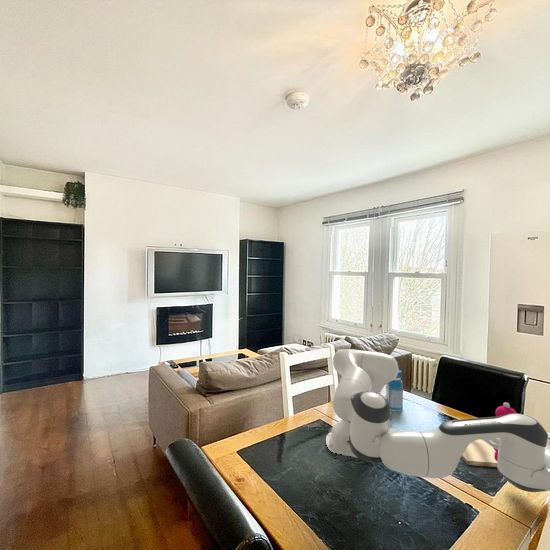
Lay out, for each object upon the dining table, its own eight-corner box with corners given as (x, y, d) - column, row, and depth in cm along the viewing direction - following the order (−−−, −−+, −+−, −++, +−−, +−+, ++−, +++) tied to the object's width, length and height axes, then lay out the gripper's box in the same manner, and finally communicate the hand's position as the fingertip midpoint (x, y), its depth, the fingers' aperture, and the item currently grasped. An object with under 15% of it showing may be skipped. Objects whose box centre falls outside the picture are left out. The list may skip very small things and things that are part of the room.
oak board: (467, 464, 112) (467, 460, 112) (448, 440, 128) (448, 437, 128) (514, 468, 110) (514, 464, 110) (489, 443, 125) (489, 439, 125)
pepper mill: (524, 469, 97) (525, 408, 97) (499, 466, 99) (500, 406, 99) (511, 456, 104) (512, 398, 104) (488, 453, 106) (489, 397, 106)
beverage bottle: (395, 413, 152) (395, 374, 151) (382, 407, 159) (382, 369, 159) (406, 410, 156) (406, 371, 155) (393, 403, 163) (393, 366, 163)
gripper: (495, 458, 90) (471, 433, 104) (572, 464, 87) (537, 438, 101) (495, 437, 90) (471, 415, 104) (572, 442, 87) (537, 419, 101)
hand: (504, 426), depth 102 cm, fingers closed on pepper mill, 5 cm apart
